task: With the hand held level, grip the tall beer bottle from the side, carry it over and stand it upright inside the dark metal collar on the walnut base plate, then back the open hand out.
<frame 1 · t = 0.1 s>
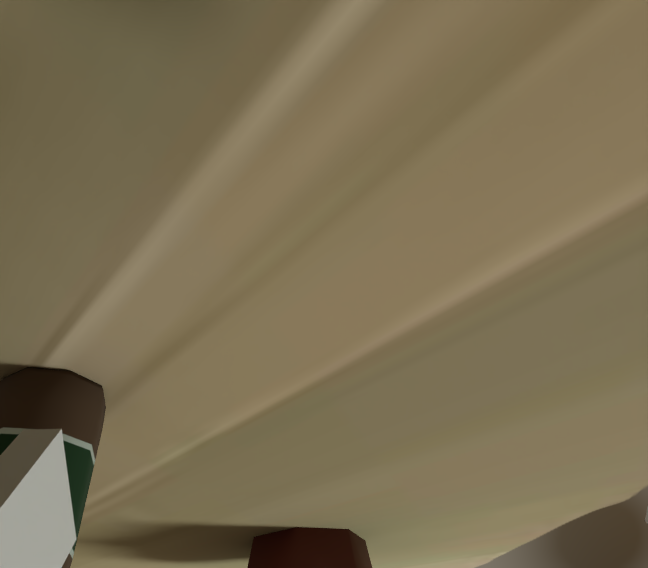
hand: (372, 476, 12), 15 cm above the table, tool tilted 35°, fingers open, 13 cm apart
bucket: (308, 539, 78), on the table
beer bottle: (56, 388, 40), on the table
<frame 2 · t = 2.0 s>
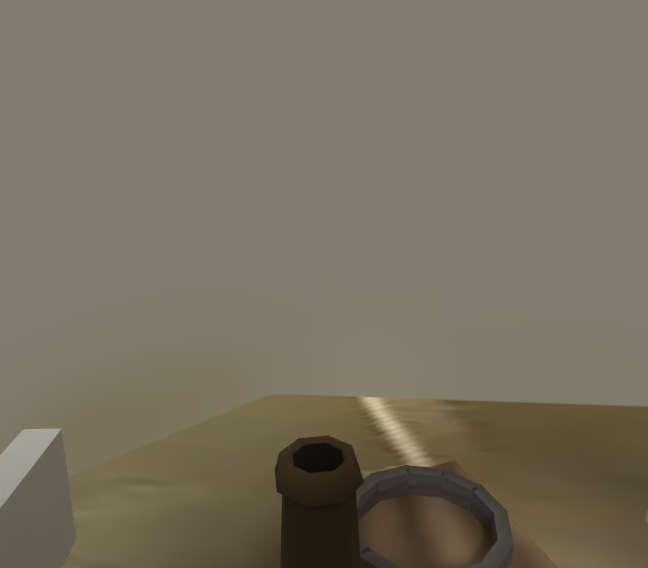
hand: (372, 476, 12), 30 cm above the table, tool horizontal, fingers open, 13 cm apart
collar stand: (423, 549, 48), on the table
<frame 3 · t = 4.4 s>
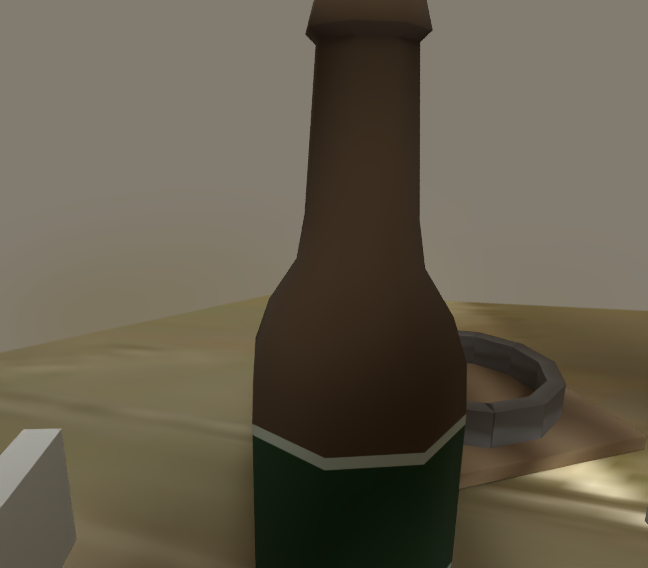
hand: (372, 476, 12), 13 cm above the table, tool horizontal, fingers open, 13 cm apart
collar stand: (455, 404, 41), on the table
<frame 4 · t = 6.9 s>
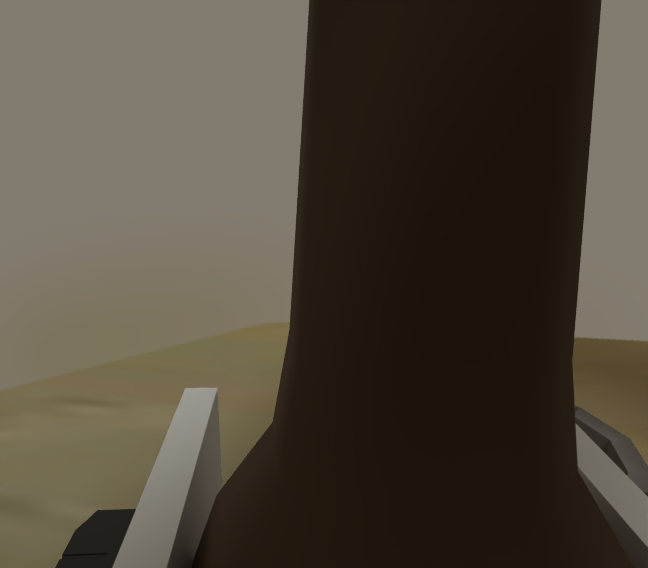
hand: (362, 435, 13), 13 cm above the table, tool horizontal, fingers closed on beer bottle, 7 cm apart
collar stand: (497, 494, 31), on the table
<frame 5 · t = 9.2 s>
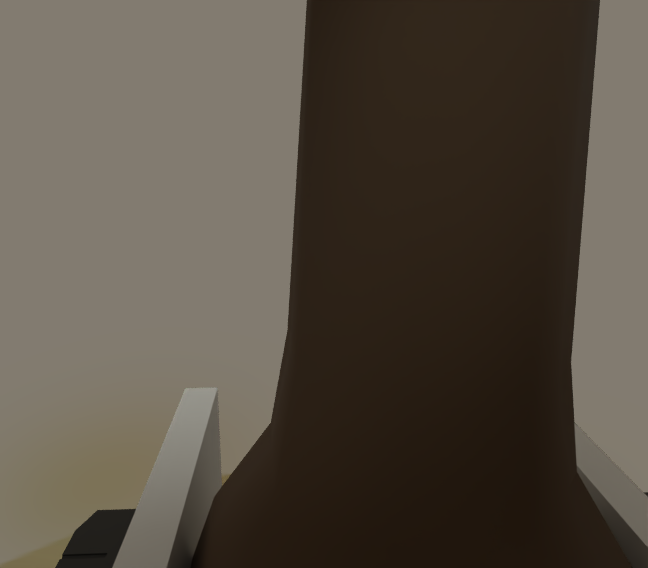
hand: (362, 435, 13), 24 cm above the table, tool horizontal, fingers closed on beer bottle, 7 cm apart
when the fingers open (15 cm above the table, at t = 11.8 s): beer bottle drops 1 cm, resting on collar stand.
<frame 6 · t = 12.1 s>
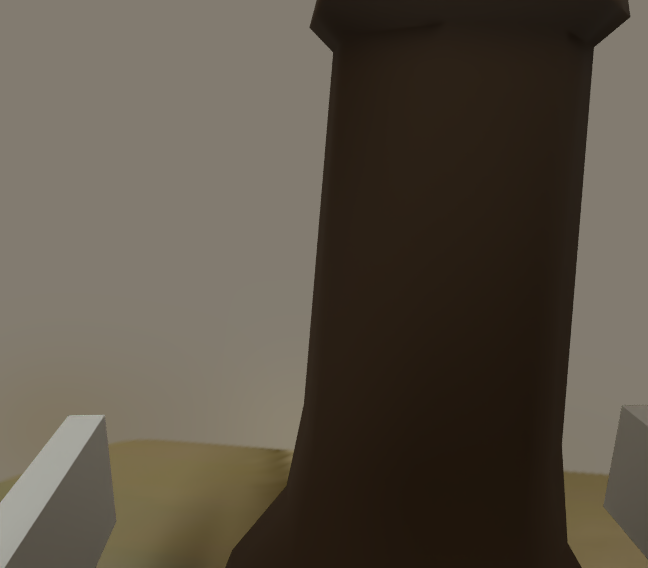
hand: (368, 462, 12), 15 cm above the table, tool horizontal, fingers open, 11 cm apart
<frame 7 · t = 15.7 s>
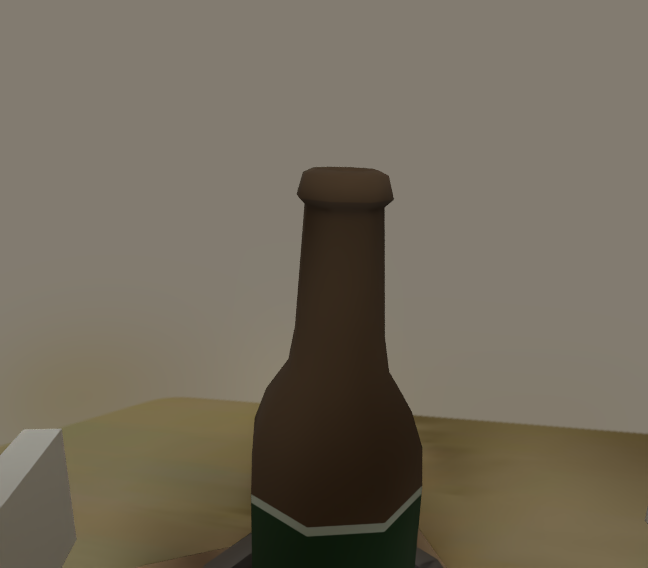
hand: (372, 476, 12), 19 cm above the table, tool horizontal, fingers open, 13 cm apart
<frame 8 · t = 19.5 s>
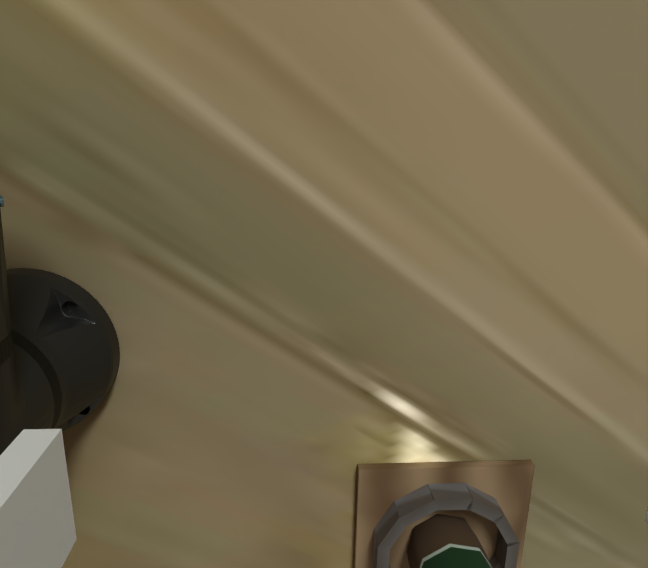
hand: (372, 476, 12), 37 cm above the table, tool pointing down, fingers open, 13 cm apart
collar stand: (438, 535, 57), on the table
beer bottle: (440, 540, 56), point 1 cm above the table, touching collar stand
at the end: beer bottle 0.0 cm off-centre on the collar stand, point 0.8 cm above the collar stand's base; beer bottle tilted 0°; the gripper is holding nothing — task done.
